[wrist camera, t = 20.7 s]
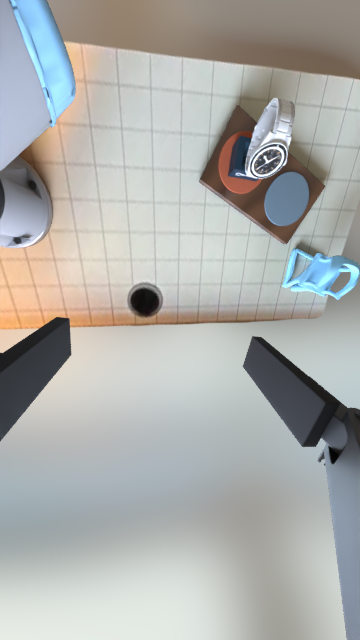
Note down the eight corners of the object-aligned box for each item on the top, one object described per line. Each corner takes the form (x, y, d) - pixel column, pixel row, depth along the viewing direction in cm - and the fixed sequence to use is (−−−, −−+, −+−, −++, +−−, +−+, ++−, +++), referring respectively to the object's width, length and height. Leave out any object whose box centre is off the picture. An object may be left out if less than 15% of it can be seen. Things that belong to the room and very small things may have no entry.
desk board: (198, 182, 34) (200, 179, 33) (234, 109, 31) (237, 104, 30) (283, 244, 40) (286, 244, 39) (320, 188, 37) (325, 186, 36)
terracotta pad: (209, 174, 33) (209, 173, 33) (237, 118, 31) (237, 117, 30) (247, 203, 35) (248, 203, 35) (276, 154, 33) (277, 153, 33)
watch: (225, 188, 34) (255, 161, 24) (234, 133, 31) (272, 75, 21) (253, 193, 35) (294, 169, 24) (265, 140, 32) (315, 87, 22)
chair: (274, 282, 43) (315, 294, 32) (294, 247, 41) (345, 246, 29) (299, 294, 45) (346, 308, 34) (319, 261, 42) (377, 265, 31)
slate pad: (255, 209, 36) (256, 209, 36) (284, 161, 34) (285, 160, 33) (288, 234, 38) (289, 234, 38) (317, 190, 36) (318, 190, 36)
